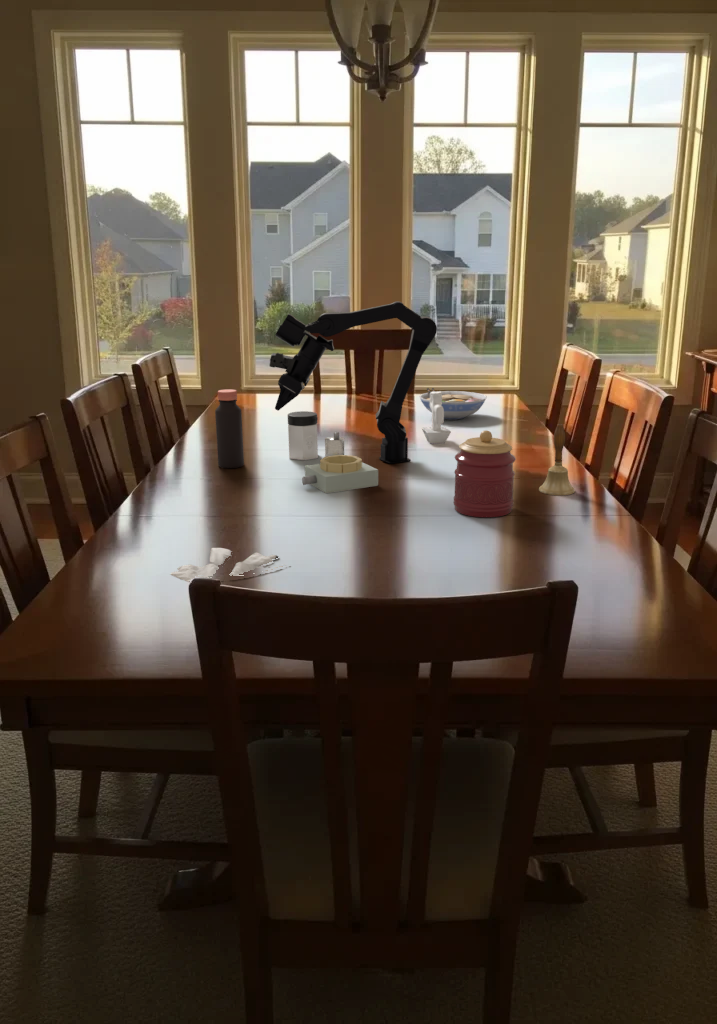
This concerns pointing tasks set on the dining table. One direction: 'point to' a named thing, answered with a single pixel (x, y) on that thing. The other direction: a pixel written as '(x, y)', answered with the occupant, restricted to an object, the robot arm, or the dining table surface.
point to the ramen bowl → (456, 403)
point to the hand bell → (557, 469)
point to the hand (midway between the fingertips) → (278, 406)
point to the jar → (302, 435)
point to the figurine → (436, 421)
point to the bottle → (229, 430)
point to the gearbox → (340, 474)
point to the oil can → (334, 445)
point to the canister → (484, 477)
